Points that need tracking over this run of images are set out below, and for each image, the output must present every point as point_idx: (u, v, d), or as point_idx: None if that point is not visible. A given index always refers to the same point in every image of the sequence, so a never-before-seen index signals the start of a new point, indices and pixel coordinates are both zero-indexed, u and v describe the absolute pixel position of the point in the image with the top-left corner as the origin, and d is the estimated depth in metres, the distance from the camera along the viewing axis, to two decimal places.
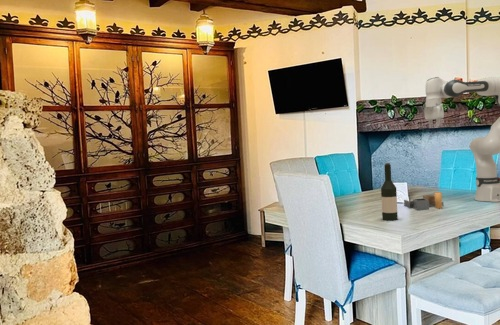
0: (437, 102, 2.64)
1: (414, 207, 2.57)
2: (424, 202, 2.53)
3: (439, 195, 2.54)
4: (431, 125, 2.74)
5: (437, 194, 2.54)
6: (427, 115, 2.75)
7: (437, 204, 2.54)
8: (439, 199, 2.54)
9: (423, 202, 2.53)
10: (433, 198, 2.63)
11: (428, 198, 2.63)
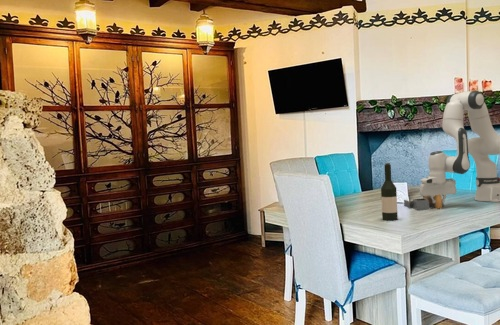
0: None
1: (414, 207, 2.57)
2: (424, 202, 2.53)
3: (439, 195, 2.54)
4: None
5: None
6: (429, 191, 2.54)
7: (437, 204, 2.54)
8: (439, 199, 2.54)
9: (423, 202, 2.53)
10: (433, 198, 2.63)
11: (428, 198, 2.63)
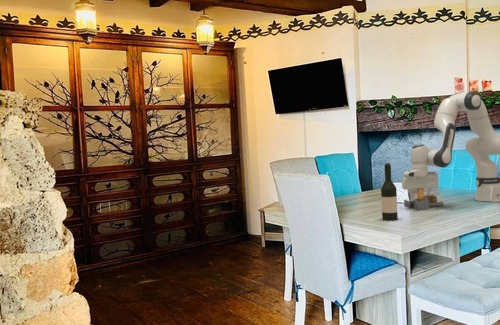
0: None
1: (414, 207, 2.57)
2: (424, 202, 2.53)
3: (421, 191, 2.54)
4: None
5: (419, 190, 2.55)
6: (411, 184, 2.54)
7: (419, 200, 2.55)
8: (422, 195, 2.54)
9: (423, 202, 2.53)
10: (433, 198, 2.63)
11: (428, 198, 2.63)
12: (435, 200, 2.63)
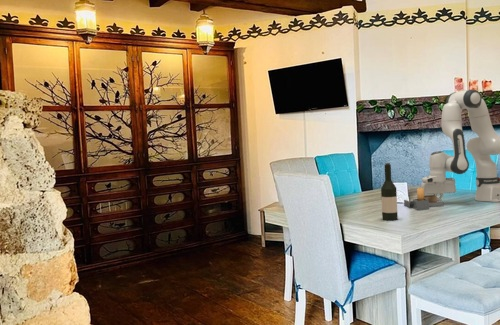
0: None
1: (414, 207, 2.57)
2: (424, 202, 2.53)
3: (421, 191, 2.54)
4: None
5: (419, 190, 2.54)
6: (429, 189, 2.64)
7: (419, 200, 2.55)
8: (422, 195, 2.54)
9: (423, 202, 2.53)
10: (433, 198, 2.63)
11: (428, 198, 2.63)
12: (435, 200, 2.63)
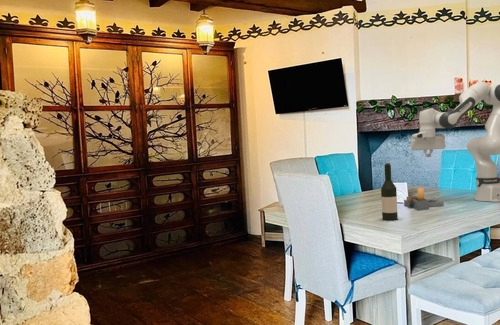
0: None
1: (414, 207, 2.57)
2: (424, 202, 2.53)
3: (422, 191, 2.54)
4: None
5: (420, 190, 2.54)
6: (419, 145, 2.67)
7: None
8: (422, 194, 2.54)
9: (423, 202, 2.53)
10: None
11: (411, 199, 2.63)
12: None
